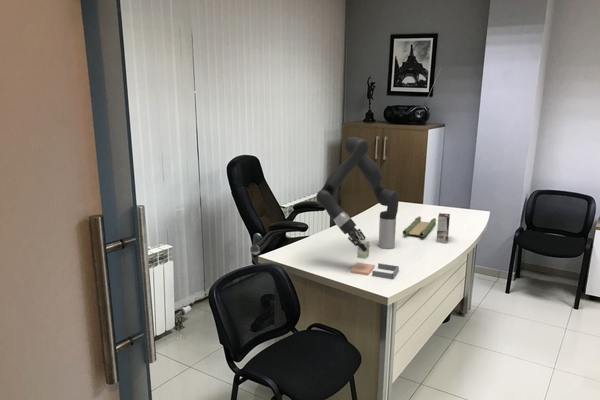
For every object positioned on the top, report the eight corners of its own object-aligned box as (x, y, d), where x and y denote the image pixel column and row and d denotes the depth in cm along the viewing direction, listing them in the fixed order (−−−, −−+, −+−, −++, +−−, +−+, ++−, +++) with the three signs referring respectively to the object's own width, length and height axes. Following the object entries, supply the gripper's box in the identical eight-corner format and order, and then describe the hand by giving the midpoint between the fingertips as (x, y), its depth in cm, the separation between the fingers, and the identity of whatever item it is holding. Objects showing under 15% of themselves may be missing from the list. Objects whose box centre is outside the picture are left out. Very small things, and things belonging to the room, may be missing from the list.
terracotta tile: (357, 264, 233) (357, 262, 233) (374, 267, 229) (374, 264, 229) (350, 272, 222) (350, 270, 222) (368, 275, 219) (368, 273, 219)
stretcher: (424, 241, 272) (424, 233, 271) (400, 237, 279) (401, 230, 278) (437, 225, 308) (437, 218, 307) (416, 222, 314) (416, 215, 313)
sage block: (359, 254, 227) (360, 239, 226) (368, 256, 225) (369, 240, 224) (357, 257, 223) (357, 242, 222) (366, 258, 221) (366, 243, 220)
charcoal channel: (378, 267, 228) (378, 263, 228) (398, 271, 224) (398, 266, 224) (372, 275, 218) (372, 271, 218) (393, 279, 214) (393, 274, 213)
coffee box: (447, 243, 267) (449, 217, 264) (436, 242, 270) (437, 216, 266) (448, 239, 275) (450, 213, 272) (437, 238, 278) (439, 212, 274)
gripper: (345, 221, 217) (368, 248, 215) (354, 214, 230) (376, 240, 227) (334, 230, 220) (357, 257, 218) (344, 223, 233) (365, 249, 231)
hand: (366, 248), depth 223 cm, fingers closed on sage block, 4 cm apart
